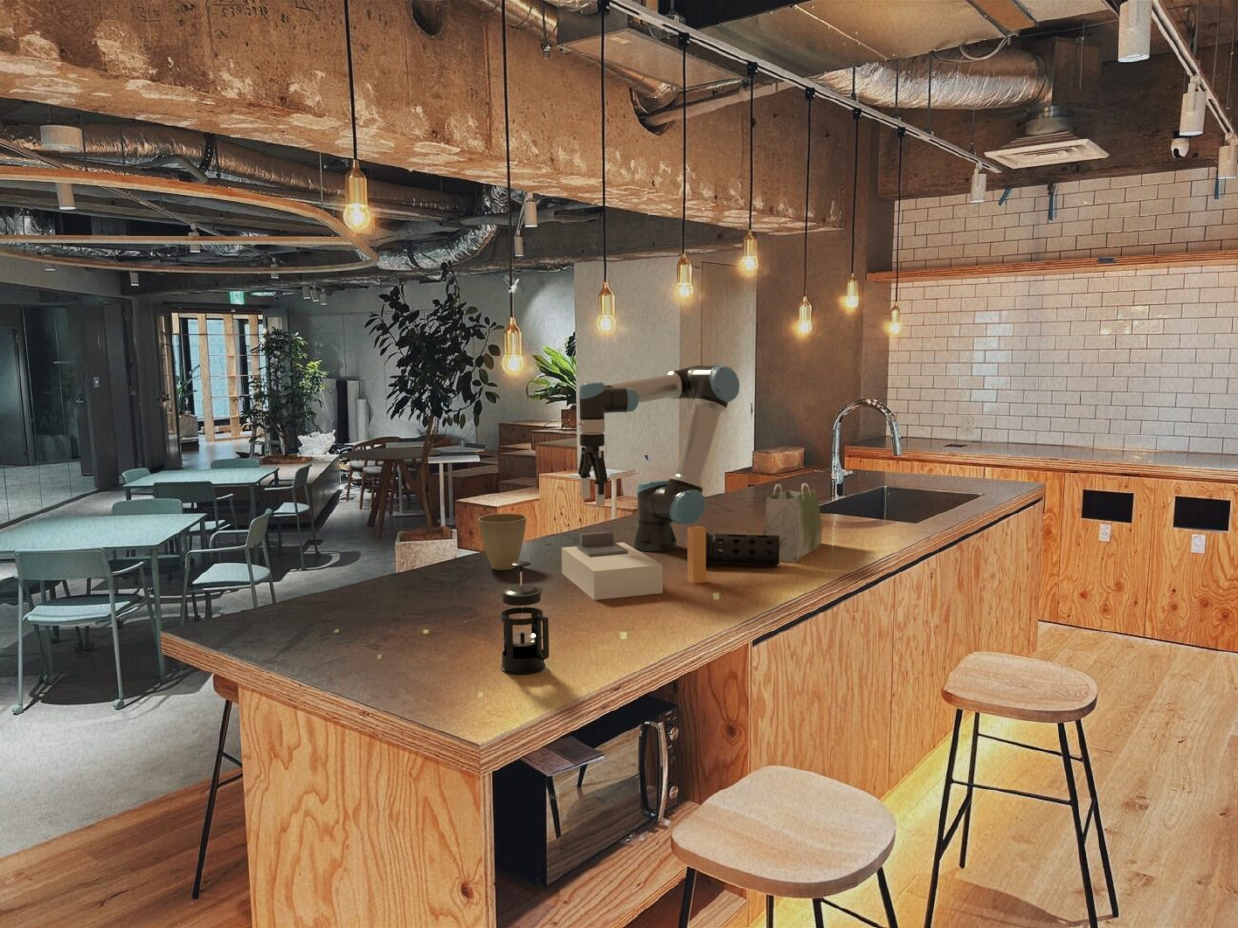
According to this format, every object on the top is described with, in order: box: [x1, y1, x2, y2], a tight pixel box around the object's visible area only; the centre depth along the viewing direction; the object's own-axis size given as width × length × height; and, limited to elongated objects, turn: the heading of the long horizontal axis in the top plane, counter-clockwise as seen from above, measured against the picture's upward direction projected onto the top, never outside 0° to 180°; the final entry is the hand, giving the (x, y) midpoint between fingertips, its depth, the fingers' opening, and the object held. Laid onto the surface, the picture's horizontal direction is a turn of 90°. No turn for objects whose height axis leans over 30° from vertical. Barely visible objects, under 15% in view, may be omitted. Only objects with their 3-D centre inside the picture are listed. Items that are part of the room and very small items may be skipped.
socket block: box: [561, 541, 664, 601], centre depth 262 cm, size 32×20×8 cm, turn 19°
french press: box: [499, 560, 550, 676], centre depth 191 cm, size 12×9×23 cm
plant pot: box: [477, 512, 527, 571], centre depth 282 cm, size 15×15×16 cm
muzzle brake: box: [706, 531, 780, 568], centre depth 282 cm, size 10×28×10 cm, turn 78°
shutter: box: [576, 530, 628, 556], centre depth 268 cm, size 12×12×4 cm
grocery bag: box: [761, 482, 823, 563], centre depth 301 cm, size 32×14×23 cm, turn 153°
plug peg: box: [687, 525, 707, 585], centre depth 262 cm, size 4×4×16 cm
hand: (592, 501), depth 278 cm, fingers open, 13 cm apart
